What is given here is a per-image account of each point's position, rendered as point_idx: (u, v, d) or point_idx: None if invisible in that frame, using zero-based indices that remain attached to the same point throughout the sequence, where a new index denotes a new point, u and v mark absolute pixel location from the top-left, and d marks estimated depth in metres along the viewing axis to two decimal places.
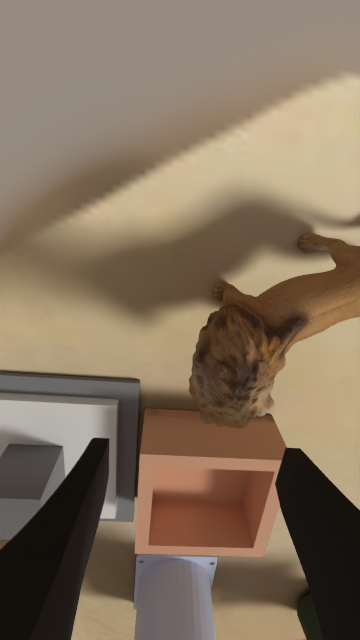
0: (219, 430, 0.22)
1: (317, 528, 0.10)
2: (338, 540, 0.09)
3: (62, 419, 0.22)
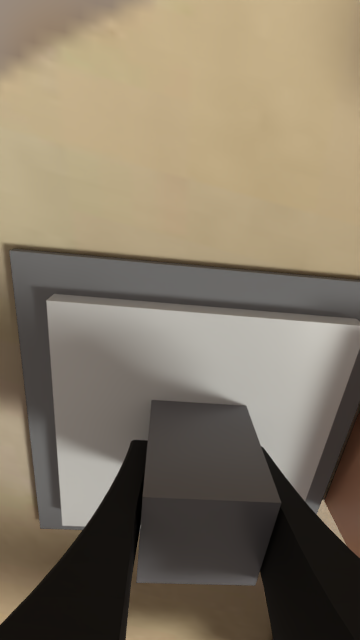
0: None
1: None
2: (286, 538, 0.09)
3: (259, 352, 0.12)
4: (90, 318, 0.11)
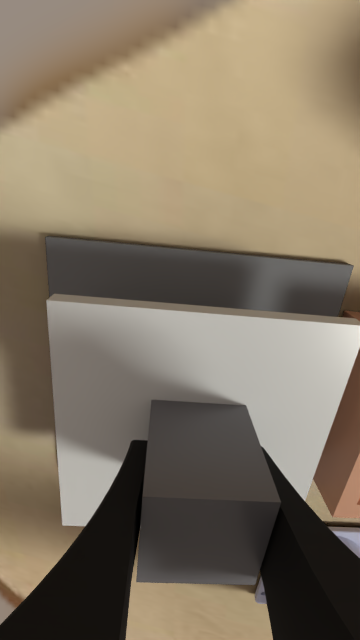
0: None
1: None
2: (286, 538, 0.09)
3: (259, 352, 0.12)
4: (90, 317, 0.11)
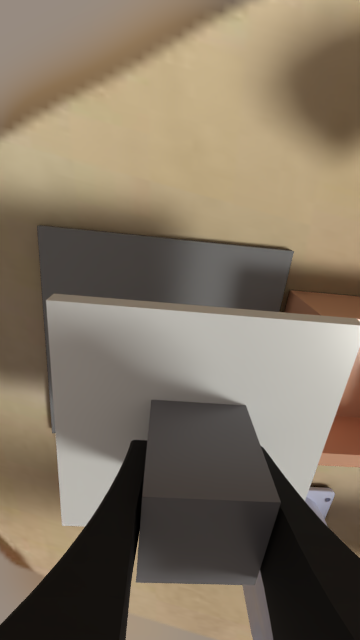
0: None
1: None
2: (286, 538, 0.09)
3: (259, 352, 0.12)
4: (90, 317, 0.11)
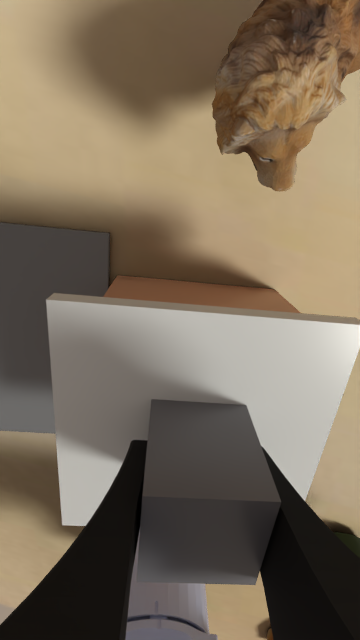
0: (208, 292, 0.17)
1: None
2: (286, 538, 0.09)
3: (259, 352, 0.12)
4: (90, 317, 0.11)
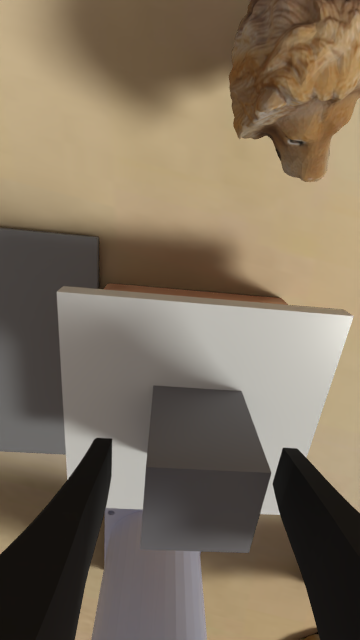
0: None
1: (314, 528, 0.10)
2: (334, 540, 0.09)
3: (253, 341, 0.13)
4: (97, 307, 0.12)
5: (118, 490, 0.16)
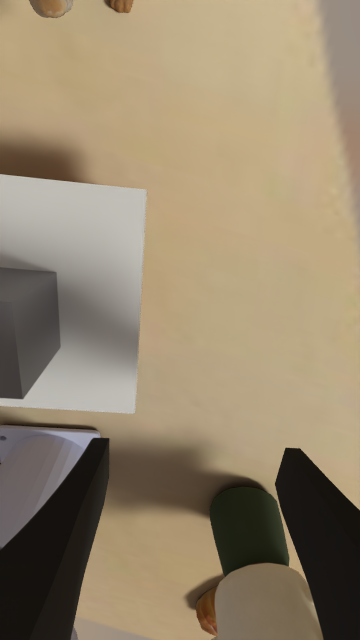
0: None
1: (317, 528, 0.10)
2: (338, 540, 0.09)
3: (55, 216, 0.13)
4: None
5: None
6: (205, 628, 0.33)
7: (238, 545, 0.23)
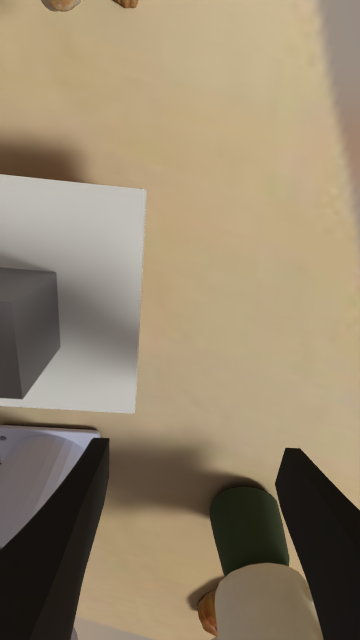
0: None
1: (317, 528, 0.10)
2: (338, 540, 0.09)
3: (54, 216, 0.13)
4: None
5: None
6: (207, 629, 0.33)
7: (238, 545, 0.23)
